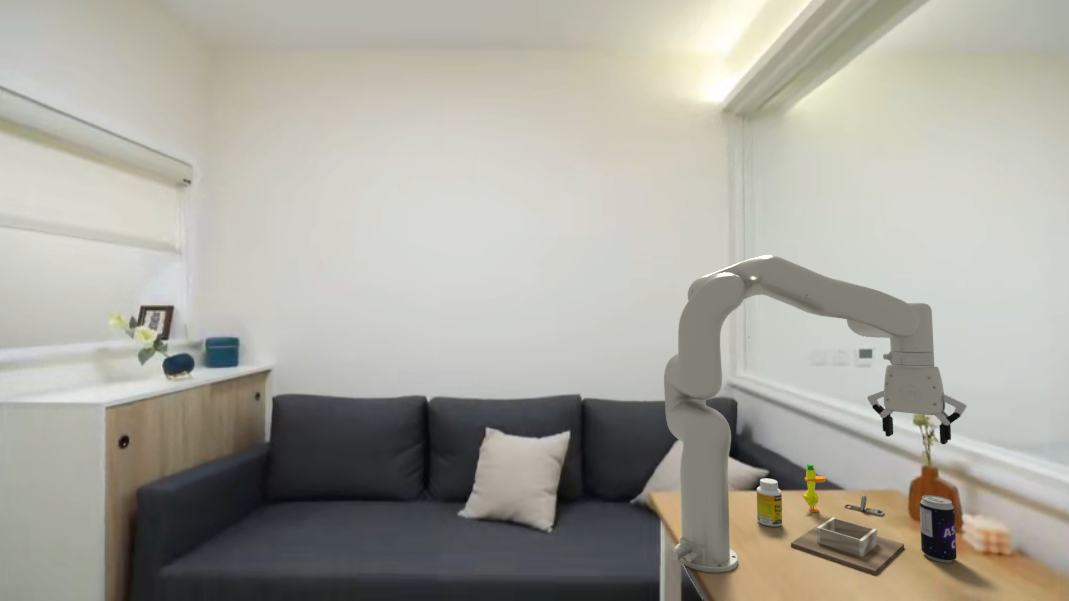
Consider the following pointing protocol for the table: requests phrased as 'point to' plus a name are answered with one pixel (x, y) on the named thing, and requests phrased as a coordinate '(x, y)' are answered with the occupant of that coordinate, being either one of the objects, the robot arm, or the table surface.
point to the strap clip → (867, 510)
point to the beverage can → (938, 528)
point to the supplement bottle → (769, 503)
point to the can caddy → (849, 545)
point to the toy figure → (812, 487)
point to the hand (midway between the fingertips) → (915, 439)
